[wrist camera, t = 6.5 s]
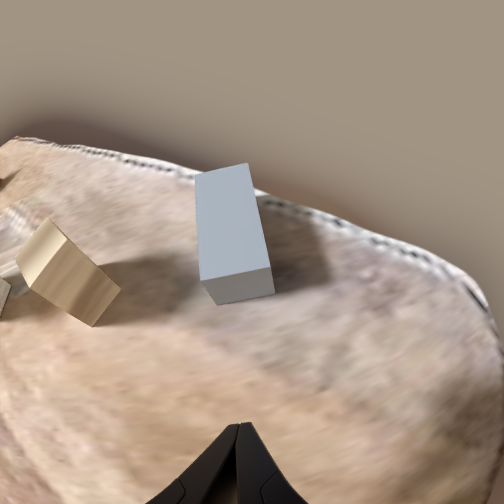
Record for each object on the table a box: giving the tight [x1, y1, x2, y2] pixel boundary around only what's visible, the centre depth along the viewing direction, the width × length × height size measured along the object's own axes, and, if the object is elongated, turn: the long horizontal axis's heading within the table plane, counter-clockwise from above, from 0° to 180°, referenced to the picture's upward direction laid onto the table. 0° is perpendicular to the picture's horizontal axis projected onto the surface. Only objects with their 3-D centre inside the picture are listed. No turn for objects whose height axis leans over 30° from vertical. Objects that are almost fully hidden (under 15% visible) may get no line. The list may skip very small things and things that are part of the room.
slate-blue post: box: [195, 163, 275, 305], centre depth 25 cm, size 5×5×11 cm
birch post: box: [15, 216, 122, 327], centre depth 23 cm, size 5×5×9 cm
